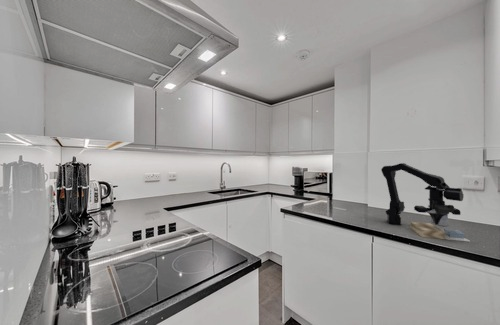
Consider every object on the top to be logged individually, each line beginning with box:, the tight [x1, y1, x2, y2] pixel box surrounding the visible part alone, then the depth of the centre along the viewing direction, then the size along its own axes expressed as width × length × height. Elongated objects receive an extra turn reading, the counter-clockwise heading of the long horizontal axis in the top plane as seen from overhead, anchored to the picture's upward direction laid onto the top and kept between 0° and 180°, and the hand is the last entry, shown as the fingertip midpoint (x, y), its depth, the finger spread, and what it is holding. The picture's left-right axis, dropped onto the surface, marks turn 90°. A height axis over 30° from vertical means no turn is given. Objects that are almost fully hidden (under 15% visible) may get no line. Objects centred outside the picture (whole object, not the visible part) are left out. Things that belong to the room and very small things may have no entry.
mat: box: [441, 229, 471, 242], centre depth 108 cm, size 10×14×1 cm
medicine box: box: [431, 214, 449, 227], centre depth 127 cm, size 8×4×9 cm, turn 168°
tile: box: [443, 228, 465, 238], centre depth 107 cm, size 6×6×2 cm
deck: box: [410, 221, 446, 240], centre depth 112 cm, size 10×14×4 cm
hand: (436, 224), depth 110 cm, fingers closed
